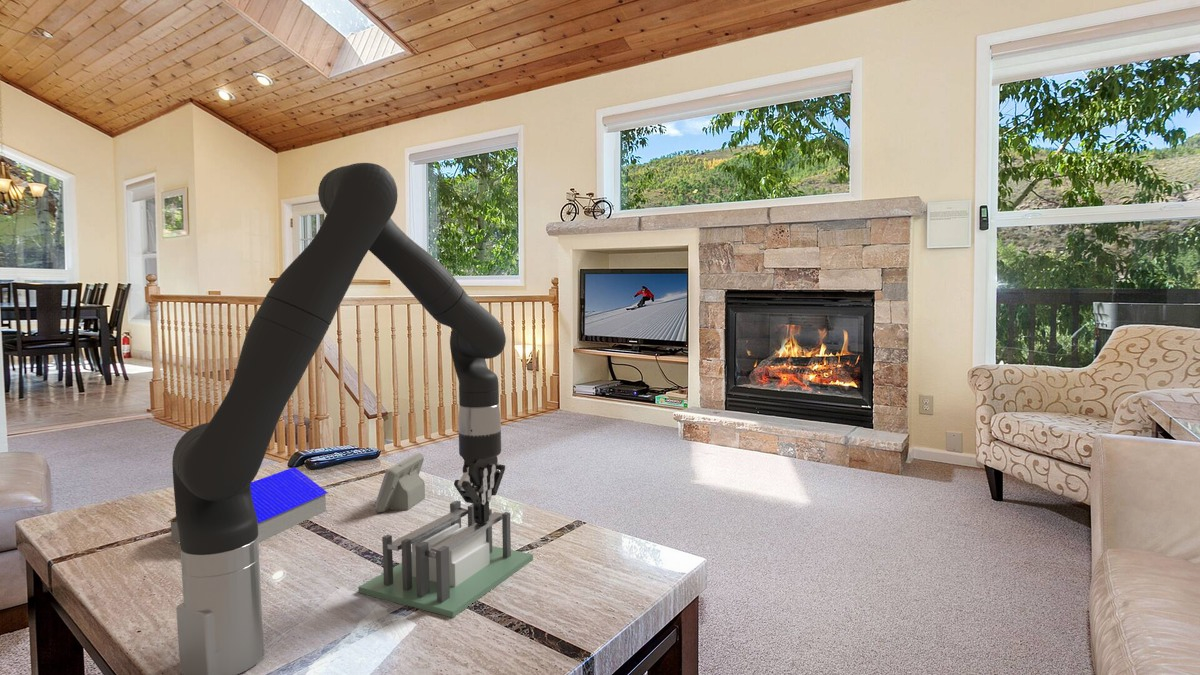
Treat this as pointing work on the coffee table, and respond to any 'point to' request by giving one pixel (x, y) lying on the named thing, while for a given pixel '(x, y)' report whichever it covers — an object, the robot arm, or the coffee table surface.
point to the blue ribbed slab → (280, 502)
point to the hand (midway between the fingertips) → (481, 522)
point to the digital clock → (402, 485)
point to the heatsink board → (446, 568)
